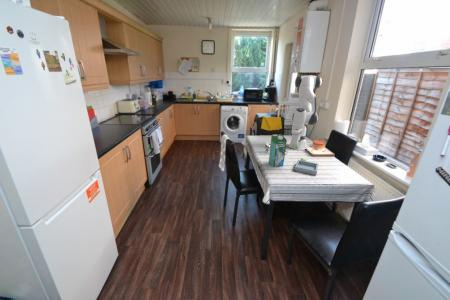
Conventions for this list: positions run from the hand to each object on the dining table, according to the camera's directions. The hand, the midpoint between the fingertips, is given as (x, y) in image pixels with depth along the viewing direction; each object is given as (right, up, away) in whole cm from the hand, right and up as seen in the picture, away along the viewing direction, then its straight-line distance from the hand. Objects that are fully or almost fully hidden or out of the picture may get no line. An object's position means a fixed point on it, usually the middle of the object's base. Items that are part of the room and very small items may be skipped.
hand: (295, 146), depth 166 cm
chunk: (+10, -14, +11) cm, 21 cm away
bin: (+9, -18, 0) cm, 21 cm away
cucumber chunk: (0, -2, +1) cm, 2 cm away
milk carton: (-14, -15, +7) cm, 22 cm away
